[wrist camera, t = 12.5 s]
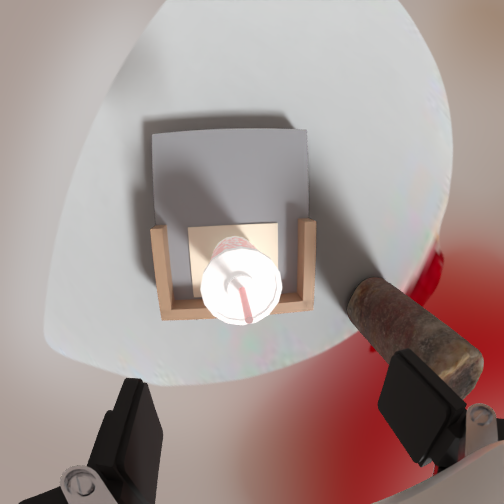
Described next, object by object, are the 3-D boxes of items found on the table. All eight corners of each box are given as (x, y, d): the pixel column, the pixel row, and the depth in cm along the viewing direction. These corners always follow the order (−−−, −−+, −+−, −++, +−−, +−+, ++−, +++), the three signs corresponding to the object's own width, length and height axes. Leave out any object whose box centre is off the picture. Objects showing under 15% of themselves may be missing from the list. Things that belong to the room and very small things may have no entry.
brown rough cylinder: (369, 332, 38) (450, 418, 19) (333, 315, 36) (415, 414, 17) (397, 287, 37) (496, 355, 18) (363, 266, 35) (471, 337, 16)
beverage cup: (264, 228, 29) (304, 268, 16) (262, 284, 31) (296, 359, 17) (204, 228, 28) (192, 270, 15) (205, 285, 30) (199, 363, 16)
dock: (157, 138, 29) (146, 129, 23) (299, 134, 30) (314, 125, 25) (169, 299, 33) (161, 320, 28) (299, 291, 35) (313, 310, 30)
